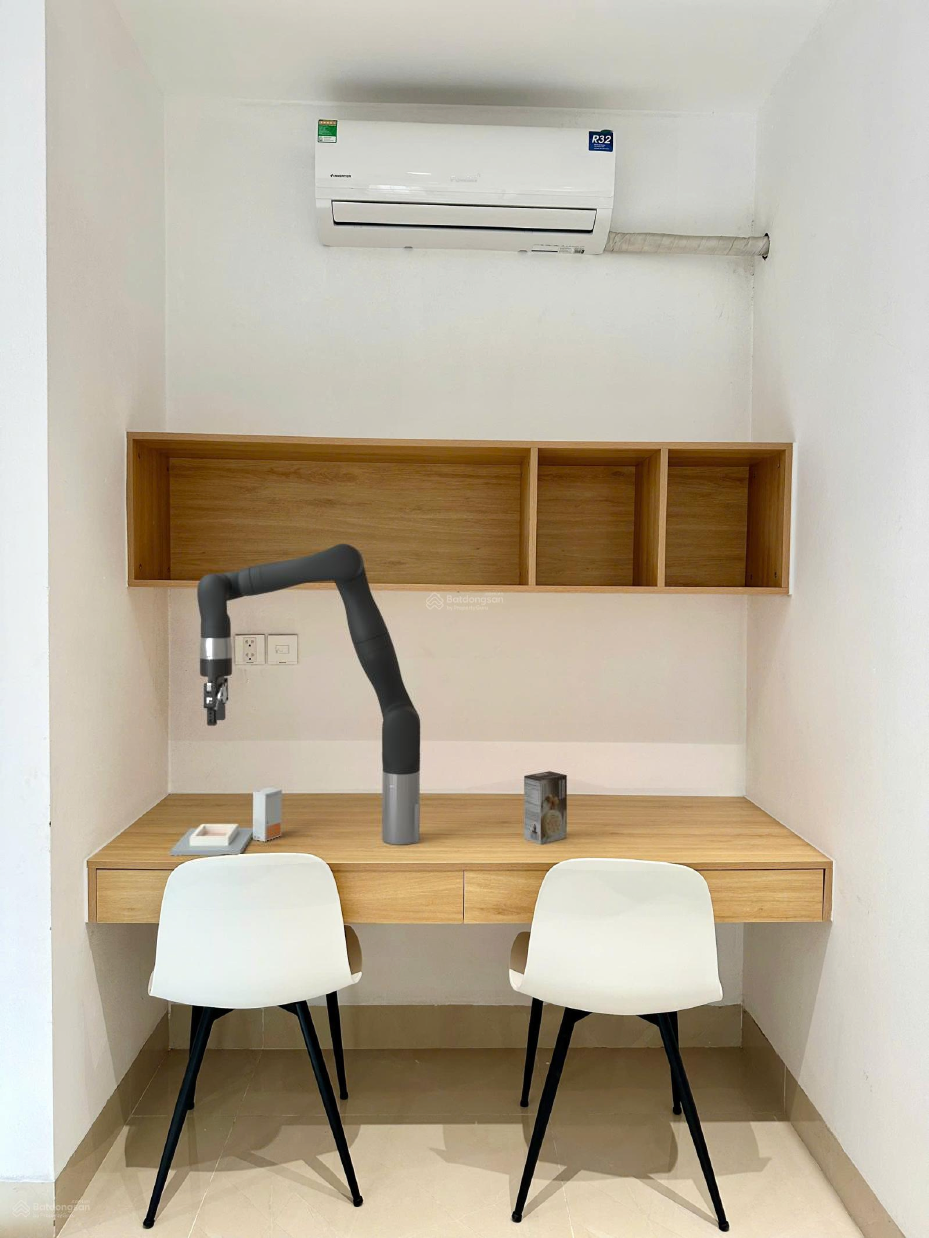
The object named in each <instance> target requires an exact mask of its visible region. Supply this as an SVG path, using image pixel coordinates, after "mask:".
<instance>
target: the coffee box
mask: <svg viewBox="0 0 929 1238" xmlns="http://www.w3.org/2000/svg"><path fill="white" fill-rule="evenodd" d="M523 777H524V778H523V779H524V780H523V781H524V783H523V785H524V786H523V787H524V788H523V789H524V790H523V792H524V796H523V797H524V800H523V806H524V807H523V809H524V810H523V816H524V818H523V819H524V820H523V821H524V822H523V829H524V831H523V834H524V835H523V838H524V840H527V841H530V842H532V843H536V844H538V845H544V844H548V843H552V842H555V841H559V840H562V839H563V840H564V839H567V838H568V837H567V836H568V835H567V834H568V833H567V831H568V830H567V827H568V821H567V818H568V817H567V816H568V815H567V814H568V813H567V811H568V809H567V808H568V803H567V802H568V797H567V796H568V790H567V789H568V785H567V784H568V782H567V781H568V775H567V774H562V773H560V772H559V773H558V772H555V771H549V770H548V771H544V772H538V773H533V774H532V773H531V774H527V775H524V776H523Z"/></svg>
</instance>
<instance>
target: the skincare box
mask: <svg viewBox="0 0 929 1238" xmlns="http://www.w3.org/2000/svg"><path fill="white" fill-rule="evenodd" d="M252 793H253V794H252V796H253V797H252V828H253V836H252V840H254V841H257V840H260V841H259V842H262V841H264V842H263V843H266V842H268V841H267V840H269V841H271V840H270V839H272V840H274V839H273V838H275V837H278V838H280V837H279V836H281V837H282V824H283V823H282V812H283V811H282V809H283V808H282V807H283V806H282V805H283V800H282V799H283V790H282V789H280V788H276V787H270V786H269V787H267V788H266V787H265V788H262V789H259V790H256V791H253V792H252ZM275 839H276V838H275ZM265 841H266V842H265Z"/></svg>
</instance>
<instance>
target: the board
mask: <svg viewBox="0 0 929 1238" xmlns="http://www.w3.org/2000/svg"><path fill="white" fill-rule="evenodd" d="M251 837H252V838H253V827H239V824H238V823H202V824H200V825H199V826H198V827H191V828H189V829H188V831H187V832H186V833H185V834H183V836H182V837H181V838H180V839H179V840H178V842H177V843H175V845H174V846H173V847H172V848H171V849H170V851H169V852H170V853H169V855H174V856H173V857H175V856H176V857H177V855H179V857H180V855H200V856H221V855H220V854H237V853H241V854H242V853H243V852H244V850H245V849H244V848H247V846H248V844H249V843H250V841H251V839H252V838H251ZM248 842H249V843H248ZM246 845H247V846H246Z"/></svg>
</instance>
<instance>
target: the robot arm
mask: <svg viewBox="0 0 929 1238" xmlns="http://www.w3.org/2000/svg"><path fill="white" fill-rule="evenodd" d="M198 581H199V582H198V584H197V592H196V593H197V594H196V595H197V604H198V611H199V617H200V642H199V644H200V645H199V676H201V677H204V678H206V677H207V678H208V680H207V682H204V683H203V705H202V706H203V709H205V710H206V726H209V727H214V726H215V727H216V726H217V725H218V721H225V720H226V717H227V716H226V705H227V702H228V700H229V678H228V677H230V676H231V675H232V674H233V645H232V638H231V636H232V635H231V634H232V632H231V631H232V627H231V618H230V617H231V616H230V615H229V614H228V603H227V602H229V601H233V600H237V599H240V598H243V597H252V596H258V595H259V596H260V595H262V594H269V593H274V592H277V591H281V590H284V589H285V590H286V589H288V588H292V587H296V586H299V585H305V584H309V583H315V582H316V583H317V582H334V583H335V586H336V588H337V590H338V593H339V594H340V597H341V600H342V602H343V605H344V610H345V615H346V622H347V626H348V631H349V635H350V638H351V639H350V640H351V641H352V644H353V648H354V650H355V654H356V656H357V659H358V661H359V663H360V665H361V667H362V669H363V671H364V673H365V675H366V677H367V678H368V681H369V682H370V684H371V685H372V687H373V690H374V692H375V695H376V697H377V701H378V703H379V707H380V710H381V711H380V713H381V716H382V725H381V728H382V729H381V763H382V786H381V788H382V789H381V790H382V795H381V796H382V798H381V801H382V802H381V804H382V810H381V811H382V812H381V813H382V815H381V817H382V819H381V820H382V821H381V823H382V825H381V826H382V827H381V828H382V829H381V839H382V842H383V843H386V844H390V845H399V846H400V845H401V846H403V845H410V844H415V843H416V844H417V843H420V832H421V831H420V828H421V827H420V824H421V823H420V821H421V820H420V819H421V815H420V813H421V808H420V807H421V806H420V805H421V804H420V803H421V802H420V800H421V798H420V797H421V796H420V794H421V792H420V790H421V789H420V785H421V783H420V782H421V781H420V777H421V776H420V774H421V718H420V716H419V713H418V711H417V709H416V708H415V707H416V706H415V705H414V703H413V702H412V700H411V697H410V696H409V695H410V694H409V693H408V691H407V689H406V686H405V684H404V681H403V676H402V673H401V669H400V664H399V660H398V655H397V653H396V650H395V647H394V643H393V640H392V638H391V635H390V632H389V630H388V627H387V624H386V622H385V620H384V617H383V615H382V613H381V612H380V611H381V610H380V609H379V607H378V605H377V603H376V600H375V598H374V596H373V594H372V591H371V589H370V585H369V580H368V577H367V573H366V569H365V564H364V559H363V556H362V553H361V552H360V551H359V550H358V549H357V548H356V547H354V546H352V545H350V544H347V543H338V544H335V545H334V546H331V547H330V548H327V549H325V550H321V551H319V552H316V553H313V554H310V555H307V556H302V557H297V558H295V559H294V558H293V559H287V560H282V561H273V562H268V563H267V562H266V563H262V564H256V565H253V566H248V567H244V568H242V569H240V570H235V571H229V572H223V573H209V574H206V575H204V576H202V577H201V578H200V579H199V580H198Z"/></svg>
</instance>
